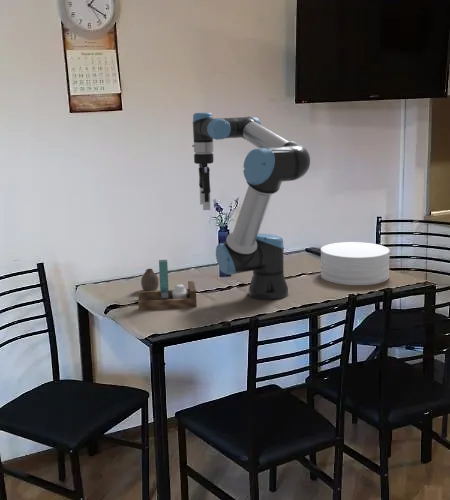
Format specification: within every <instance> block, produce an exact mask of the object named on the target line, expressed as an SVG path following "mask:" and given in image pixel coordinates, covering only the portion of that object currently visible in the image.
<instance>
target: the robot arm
mask: <svg viewBox="0 0 450 500" xmlns="http://www.w3.org/2000/svg"><path fill="white" fill-rule="evenodd" d="M192 130H193V131H192V132H193V144H192V146H191V147H192V148H193V152H194V154H193V159H194V164H197V165H198V166H199V167H198V176H199V177H198V178H199V179H198V181H199V182H198V186H199V205H202V208H203V209H202V210H203V211H211V191H212V190H211V184H210V183H211V182H210V177H211V176H210V170H211V169H210V167H209V165H208V164H213V163H214V154H213V152H214V140H217V141H218V140H224V139H239V138H241V139H242V138H243V139H244V140H246V141H247V142H249V143H250V144H252V145H253V146H255V147H256V148H254V149H251V150H250V151H249V152H248V153H247V154H246V156H245V157H244V162H243V167H242V168H243V170H242V171H243V176H244V178H245V180H246V185H248V187H247V190H246V193H245V195H244V198H243V201H242V204H241V207H240V210H239V213H238V214H239V215H238V216H237V219H236V223H235V225H234V228H233V231H232V232H230V233H229V234H227V236H226V239H225V242H222V243H219V244H217V246H216V248H215V258H216V262H217V265H218V267H219V269H220V271H221V272H222V273H224V274H225V275H236V274H241V273H248V272H252V277H251V280H250V282H249V283H250V284H249V288H248V296H249V297H251V298H255V299H258V300H277V299H278V300H279V299H282V298H286V297H288V295H289V287H288V284H287V282H286V281H287V280H286V277H285V275H284V273H285V272H284V265H285V263H284V262H285V261H284V258H285V255H284V250H285V246H284V245H285V244H284V239H283V238H282V237H281V236H279V235H276V234H270V233H259V232H260V228H261V226H262V224H263V221H264V218H265V216H266V212H267V210H268V208H269V204H270V202H271V199H272V197H273V194H276V193H278V192H279V191H280V187H281V185H282V183H283V182H291V181H296V180H299V179H301V178H303V177H304V175H306V174H307V172H308V170H309V169H310V165H311V156H310V154H309V152H308V150H307V149H306V147H305V146H303V145H302V144H301V143H298V142H296V141H294V140H293V141H289V140H287V139H285V138H284V137H282V136H280V135H278V134H276V133H275V132H273V131H271V130H270V129H268V128H266V127H264V126H262V123H261V121H260V119H259V118H258V117H255V116H242V117H223V118H222V117H221V118H220V117H219V118H218V117H216V118H213V114H212V112H195V113H194V114H193V115H192Z"/></svg>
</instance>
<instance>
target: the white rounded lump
mask: <svg viewBox="0 0 450 500" xmlns="http://www.w3.org/2000/svg"><path fill="white" fill-rule="evenodd" d="M186 289H187V288H186V287H185V285H184V284H176V285H175V287H174V289H172V290H173V292H172V295H173V298H172V299H182V298H187V295H188V291H187V290H186Z"/></svg>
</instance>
